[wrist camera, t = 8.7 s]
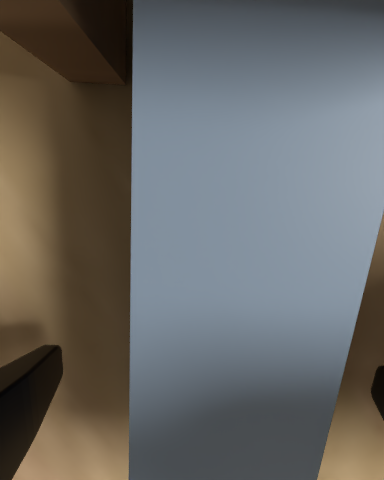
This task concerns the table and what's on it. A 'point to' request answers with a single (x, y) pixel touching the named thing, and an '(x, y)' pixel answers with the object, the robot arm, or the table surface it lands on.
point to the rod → (249, 228)
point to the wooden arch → (71, 36)
